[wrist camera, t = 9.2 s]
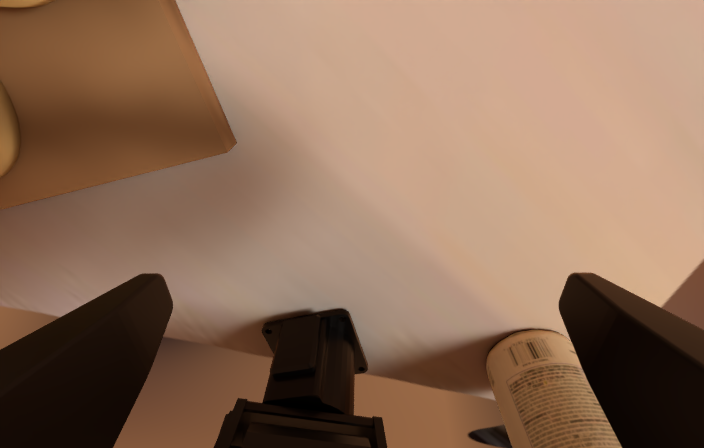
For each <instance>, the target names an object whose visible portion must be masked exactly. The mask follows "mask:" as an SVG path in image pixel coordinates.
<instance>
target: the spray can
mask: <svg viewBox="0 0 704 448" xmlns="http://www.w3.org/2000/svg"><path fill="white" fill-rule="evenodd" d="M486 370H487V376H488V379H489V382H490V385H491V387H492V390H493V393H494V396H495V399H496V402H497V405H498V408H499V411H500V413H501V416H502V418H503V421H504V424H505V427H506V430H507V433H508V436H509V439H510V442H511V444H512V447H513V448H622V447H621V445H620V443H619V441H618V439H617V437H616V435H615V433H614V431H613V429H612V427H611V425H610V423H609V422H608V420H607V418H606V416H605V414H604V412H603V410H602V408H601V406H600V404H599V402H598V400H597V398H596V396H595V395H594V393H593V391H592V389H591V387H590V385H589V383H588V381H587V378H586V376H585V374H584V372H583V369H582V367H581V365H580V362H579V360H578V357H577V355H576V352H575V350H574V347H573V344H572V343H571V342H570V340H569V339H567V338H566V337H565V336H563V335H562V334H559V333H557V332H554V331H543V330H529V331H523V332H517V333H514V334H512V335H510V336H509V337H507V338H506V339H504V340H502V341H501V342H499V343H498V344H496V345H495V346H494V348H493V349H492V350H491V351H490V352H489V354H488V357H487V361H486Z"/></svg>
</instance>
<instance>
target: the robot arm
mask: <svg viewBox="0 0 704 448" xmlns="http://www.w3.org/2000/svg"><path fill="white" fill-rule="evenodd" d="M172 309H173V301H172V298H171V295H170V293H169V290H168V287H167V285H166V282H165V279H164V277H163V276H162V275H160V274H140V275H138V276H136V277H134V278H132V279H130V280H129V281H127V282H125V283H123V284H121V285H119V286H117V287H116V288H114V289H112V290H110V291H108V292H106V293H105V294H103V295H101V296H99V297H97V298H95V299H93V300H92V301H90V302H88V303H86V304H84V305H82V306H80V307H79V308H77V309H75V310H73V311H71V312H69V313H68V314H66V315H64V316H62V317H60V318H58V319H56V320H55V321H53V322H51V323H49V324H47V325H45V326H43V327H42V328H40V329H38V330H36V331H34V332H33V333H31V334H29V335H27V336H25V337H23V338H21V339H19V340H18V341H16V342H14V343H12V344H10V345H8V346H7V347H5V348H3V349H1V350H0V448H113V446H114V444H115V442H116V440H117V438H118V436H119V434H120V432H121V430H122V428H123V426H124V424H125V422H126V420H127V418H128V416H129V414H130V412H131V409H132V408H133V406H134V404H135V401H136V399H137V397H138V395H139V393H140V391H141V389H142V387H143V385H144V383H145V381H146V379H147V376H148V374H149V372H150V369H151V367H152V365H153V362H154V359H155V356H156V354H157V351H158V348H159V346H160V343H161V340H162V338H163V335H164V332H165V329H166V327H167V324H168V321H169V319H170V316H171V313H172ZM559 311H560V314H561V317H562V319H563V322H564V324H565V327H566V329H567V332H568V334H569V337H570V339H571V342H572V344H573V347H574V350H575V352H576V355H577V357H578V360H579V362H580V365H581V367H582V369H583V372H584V374H585V376H586V378H587V381H588V383H589V385H590V387H591V389H592V391H593V393H594V395H595V396H596V398H597V400H598V402H599V404H600V406H601V408H602V410H603V412H604V414H605V416H606V418H607V420H608V422H609V423H610V425H611V427H612V429H613V431H614V433H615V435H616V437H617V439H618V441H619V443H620V445H621V447H622V448H704V330H703V329H701V328H699V327H697V326H695V325H693V324H691V323H689V322H688V321H685V320H684V319H682V318H680V317H678V316H676V315H674V314H672V313H670V312H668V311H666V310H664V309H662V308H660V307H658V306H656V305H654V304H652V303H651V302H649V301H647V300H645V299H643V298H641V297H639V296H637V295H635V294H633V293H631V292H629V291H627V290H625V289H623V288H621V287H619V286H617V285H615V284H613V283H612V282H610V281H608V280H606V279H604V278H602V277H600V276H598V275H596V274H594V273H572V274H570V275H569V276H568V278H567V281H566V284H565V286H564V289H563V292H562V294H561V297H560V300H559ZM342 317H344V318H342ZM269 329H270V330H269ZM262 333H263V335H264V337H265V339H266V341H267V342H268V344H269V346H270V348H271V350H272V351H273V353H274V356H273V360H272V364H271V368H270V376H269V380H268V384H267V387H266V391H265V395H264V399H263V403H258V402H250V401H247V399H240V398H238V400H237V402H236V404H235V407H234V409H233V411H230V412H229V414H226V416H225V418H224V421H223V424H222V427H221V430H220V434H219V436H218V439H217V441H216V443H215V446H214V448H387V444H386V438H385V432H384V426H383V421H382V418H381V417H374V416H373V417H372V418H370V417H362V416H354V374H360V373H365V372H367V370H368V364H367V361H366V358H365V355H364V352H363V349H362V347H361V344H360V341H359V338H358V335H357V333H356V330H355V327H354V324H353V321H352V318H351V316H350V313H349V312H348V311H346V310H338V311H332V312H327V313H321V314H315V315H309V316H303V317H297V318H291V319H285V320H279V321H274V322H268V323H265V324H264V325H263V328H262Z"/></svg>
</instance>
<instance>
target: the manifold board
mask: <svg viewBox="0 0 704 448" xmlns="http://www.w3.org/2000/svg"><path fill="white" fill-rule="evenodd" d="M236 143H237V142H236V140H235V137H234V135H233V133H232V130H231V128H230V126H229V124H228V121H227V119H226V117H225V114H224V112H223V110H222V107H221V105H220V103H219V100H218V98H217V96H216V94H215V91H214V89H213V87H212V84H211V82H210V80H209V77H208V75H207V73H206V71H205V68H204V66H203V64H202V61H201V59H200V57H199V54H198V52H197V50H196V47H195V45H194V43H193V41H192V38H191V36H190V34H189V31H188V29H187V27H186V24H185V22H184V20H183V17H182V15H181V13H180V11H179V8H178V6H177V4H176V1H175V0H0V210H1V209H5V208H9V207H13V206H17V205H21V204H25V203H29V202H33V201H37V200H41V199H44V198H48V197H52V196H56V195H60V194H64V193H68V192H72V191H76V190H80V189H84V188H88V187H92V186H96V185H100V184H104V183H108V182H112V181H116V180H120V179H124V178H128V177H132V176H136V175H140V174H144V173H148V172H152V171H156V170H160V169H164V168H167V167H171V166H175V165H179V164H183V163H187V162H191V161H195V160H199V159H203V158H207V157H211V156H215V155H219V154H223V153H227V152H228V151H229V150H230V149H231V148H232V147H233V146H234V145H235V144H236Z"/></svg>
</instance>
